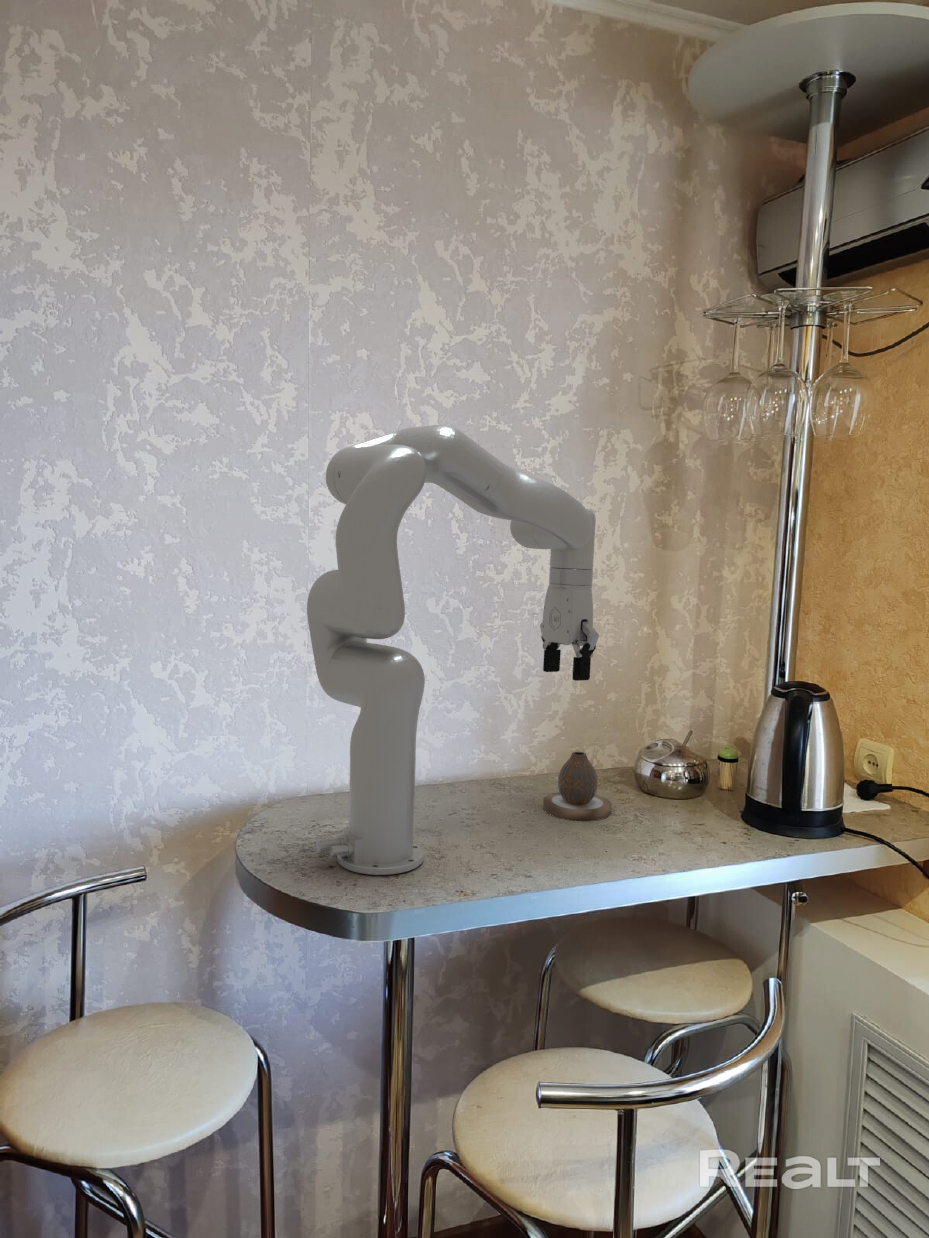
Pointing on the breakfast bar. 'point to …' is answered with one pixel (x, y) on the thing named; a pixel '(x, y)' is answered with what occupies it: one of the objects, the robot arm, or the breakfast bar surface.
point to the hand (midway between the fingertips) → (565, 675)
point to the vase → (577, 780)
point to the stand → (577, 808)
